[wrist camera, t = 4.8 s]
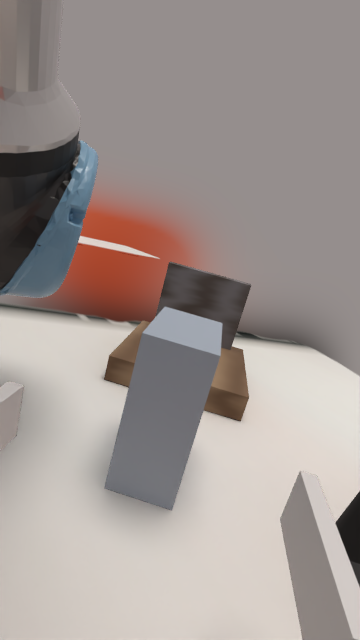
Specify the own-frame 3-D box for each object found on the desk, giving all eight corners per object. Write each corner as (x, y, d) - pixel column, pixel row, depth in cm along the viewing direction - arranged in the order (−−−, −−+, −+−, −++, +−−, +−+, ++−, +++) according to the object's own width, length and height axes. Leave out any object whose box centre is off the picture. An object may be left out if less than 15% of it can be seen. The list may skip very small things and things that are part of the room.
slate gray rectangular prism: (104, 488, 25) (142, 332, 21) (133, 427, 32) (164, 306, 29) (171, 510, 24) (220, 356, 21) (185, 443, 32) (222, 323, 29)
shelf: (104, 379, 39) (128, 268, 36) (139, 338, 55) (158, 257, 51) (240, 421, 38) (279, 311, 35) (237, 367, 54) (263, 287, 50)
